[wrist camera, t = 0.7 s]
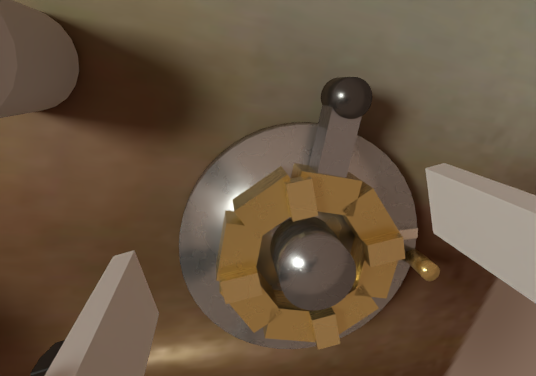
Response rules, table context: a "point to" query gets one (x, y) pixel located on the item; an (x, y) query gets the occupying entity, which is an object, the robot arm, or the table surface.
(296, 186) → the ring nut
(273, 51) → the table surface
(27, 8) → the can
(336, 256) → the cap base
